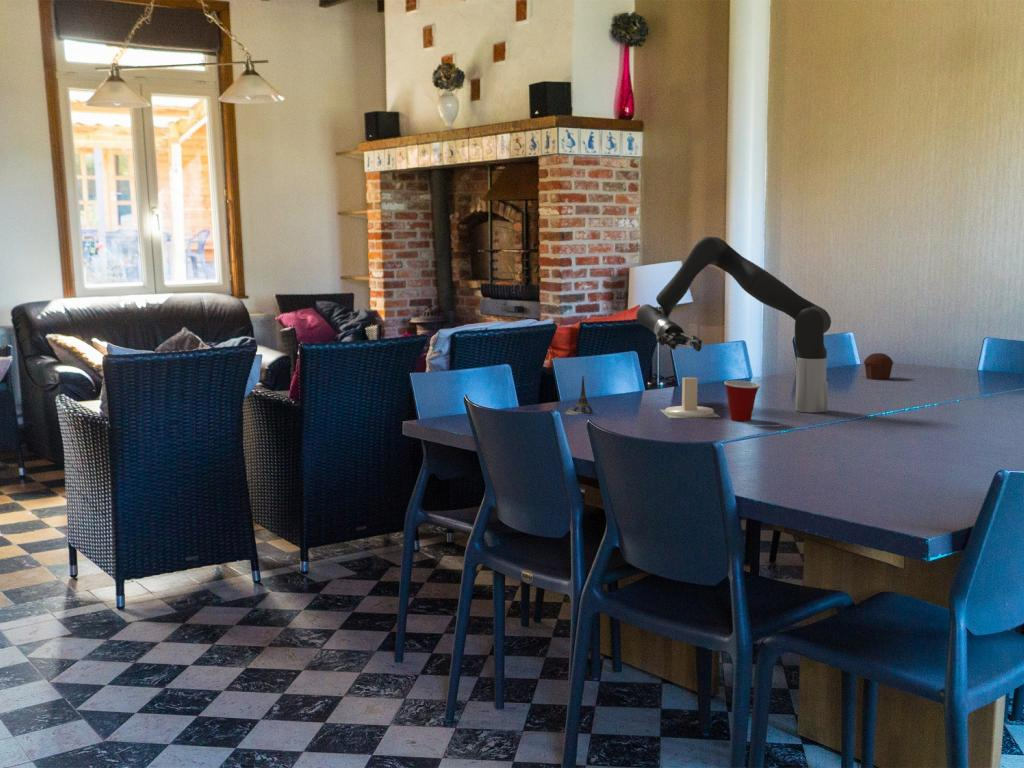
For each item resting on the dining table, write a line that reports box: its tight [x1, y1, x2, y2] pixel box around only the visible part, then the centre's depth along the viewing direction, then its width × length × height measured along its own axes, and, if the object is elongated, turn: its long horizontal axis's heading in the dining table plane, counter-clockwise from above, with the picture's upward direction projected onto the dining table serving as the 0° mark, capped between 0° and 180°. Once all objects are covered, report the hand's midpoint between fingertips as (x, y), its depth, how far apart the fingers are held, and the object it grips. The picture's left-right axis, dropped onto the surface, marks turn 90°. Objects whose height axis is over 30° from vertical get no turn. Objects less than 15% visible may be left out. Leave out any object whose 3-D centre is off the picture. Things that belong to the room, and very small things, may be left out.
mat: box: [659, 409, 721, 419], centre depth 326 cm, size 16×16×1 cm
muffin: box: [863, 352, 894, 381], centre depth 410 cm, size 12×11×10 cm
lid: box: [664, 376, 715, 418], centre depth 325 cm, size 15×15×11 cm
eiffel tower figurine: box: [564, 375, 595, 416], centre depth 334 cm, size 15×10×13 cm
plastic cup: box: [723, 380, 761, 423], centre depth 312 cm, size 11×11×12 cm
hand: (687, 347), depth 330 cm, fingers open, 8 cm apart
